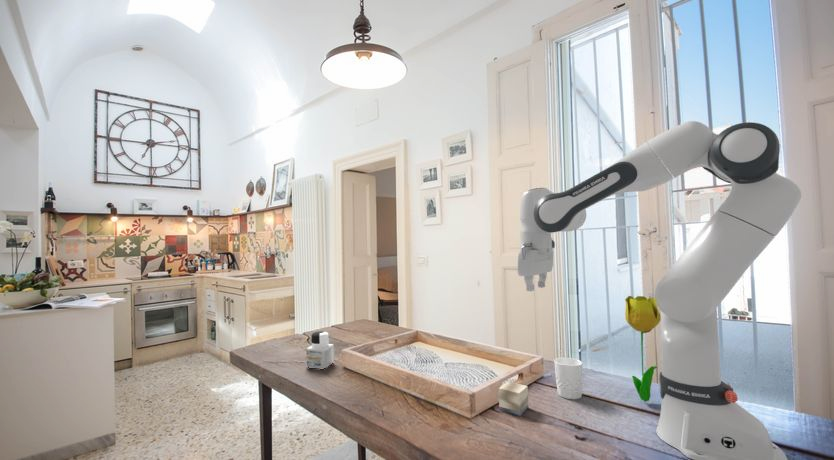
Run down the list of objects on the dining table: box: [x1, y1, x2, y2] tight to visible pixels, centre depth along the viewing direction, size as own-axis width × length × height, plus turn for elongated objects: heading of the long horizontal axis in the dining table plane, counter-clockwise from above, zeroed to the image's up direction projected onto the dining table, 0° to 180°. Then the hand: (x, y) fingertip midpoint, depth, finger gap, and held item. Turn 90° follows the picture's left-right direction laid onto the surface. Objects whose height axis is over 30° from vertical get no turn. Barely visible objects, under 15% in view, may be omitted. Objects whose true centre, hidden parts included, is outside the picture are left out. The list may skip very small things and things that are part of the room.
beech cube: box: [498, 381, 529, 416], centre depth 102 cm, size 6×6×6 cm
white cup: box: [553, 356, 583, 400], centre depth 110 cm, size 8×8×10 cm
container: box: [305, 330, 335, 369], centre depth 142 cm, size 8×8×13 cm
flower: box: [624, 295, 661, 403], centre depth 104 cm, size 9×8×30 cm
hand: (536, 289), depth 109 cm, fingers open, 8 cm apart
